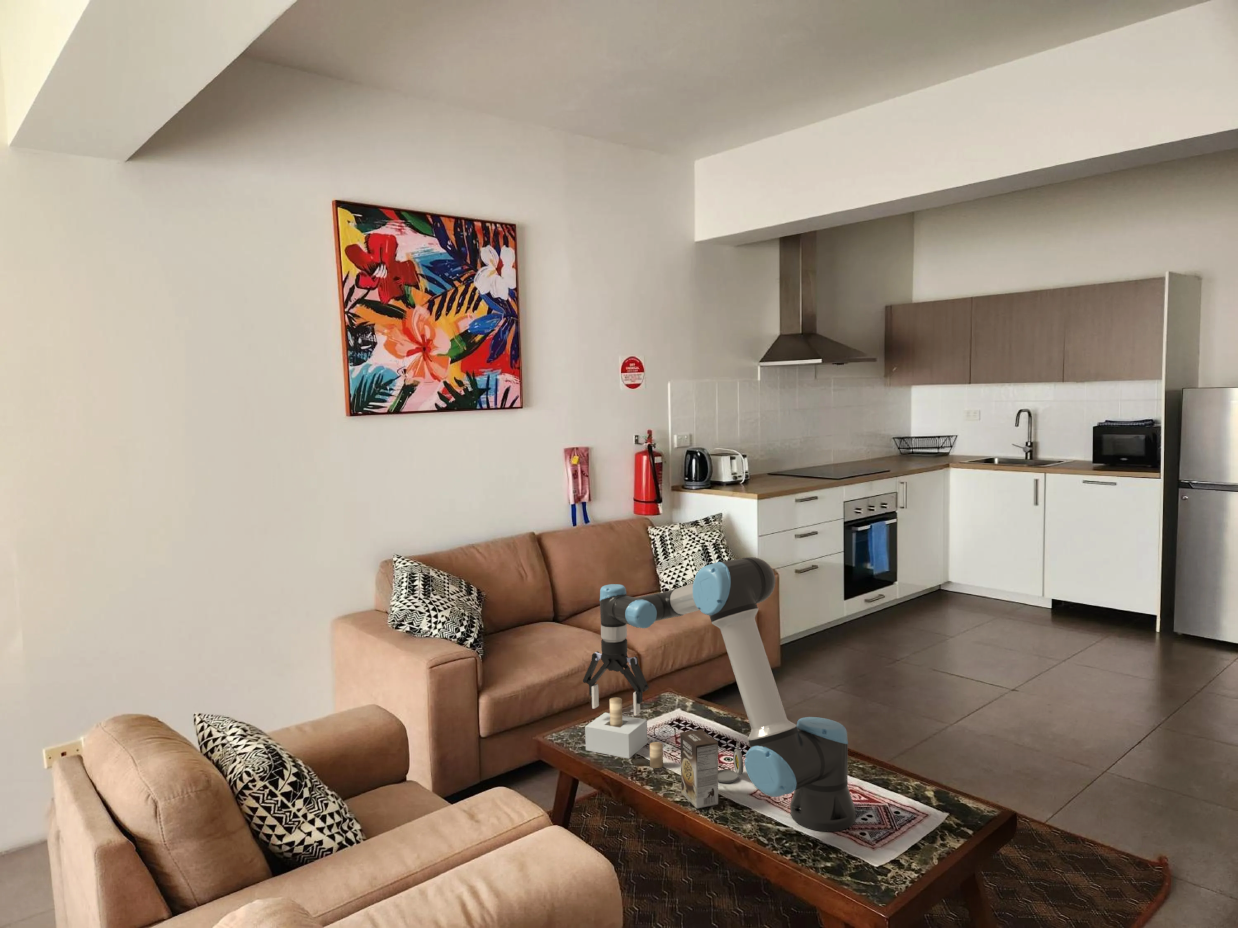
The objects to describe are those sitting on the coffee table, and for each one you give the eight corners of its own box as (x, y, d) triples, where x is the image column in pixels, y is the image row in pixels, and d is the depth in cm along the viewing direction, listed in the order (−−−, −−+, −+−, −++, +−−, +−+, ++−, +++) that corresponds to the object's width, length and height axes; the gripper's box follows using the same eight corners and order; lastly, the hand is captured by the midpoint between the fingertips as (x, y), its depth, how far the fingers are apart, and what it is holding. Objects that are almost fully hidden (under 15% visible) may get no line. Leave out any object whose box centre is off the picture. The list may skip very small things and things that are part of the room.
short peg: (659, 769, 230) (659, 747, 229) (647, 766, 231) (647, 745, 231) (665, 764, 233) (664, 743, 232) (653, 761, 235) (653, 740, 234)
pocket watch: (707, 778, 224) (707, 741, 223) (728, 768, 229) (728, 732, 228) (731, 788, 217) (730, 750, 217) (752, 778, 223) (751, 741, 222)
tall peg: (619, 749, 243) (618, 702, 242) (608, 747, 245) (607, 700, 244) (625, 745, 246) (624, 698, 245) (614, 743, 248) (613, 696, 247)
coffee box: (680, 793, 215) (679, 731, 214) (702, 788, 218) (701, 727, 217) (696, 809, 207) (695, 745, 206) (719, 804, 209) (718, 740, 208)
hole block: (629, 758, 237) (628, 734, 237) (585, 749, 244) (585, 726, 243) (647, 742, 248) (647, 719, 247) (605, 734, 254) (604, 712, 254)
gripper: (658, 639, 241) (660, 712, 242) (583, 630, 252) (585, 699, 254) (647, 646, 234) (649, 721, 236) (570, 637, 246) (572, 708, 247)
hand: (616, 710), depth 245 cm, fingers open, 13 cm apart
